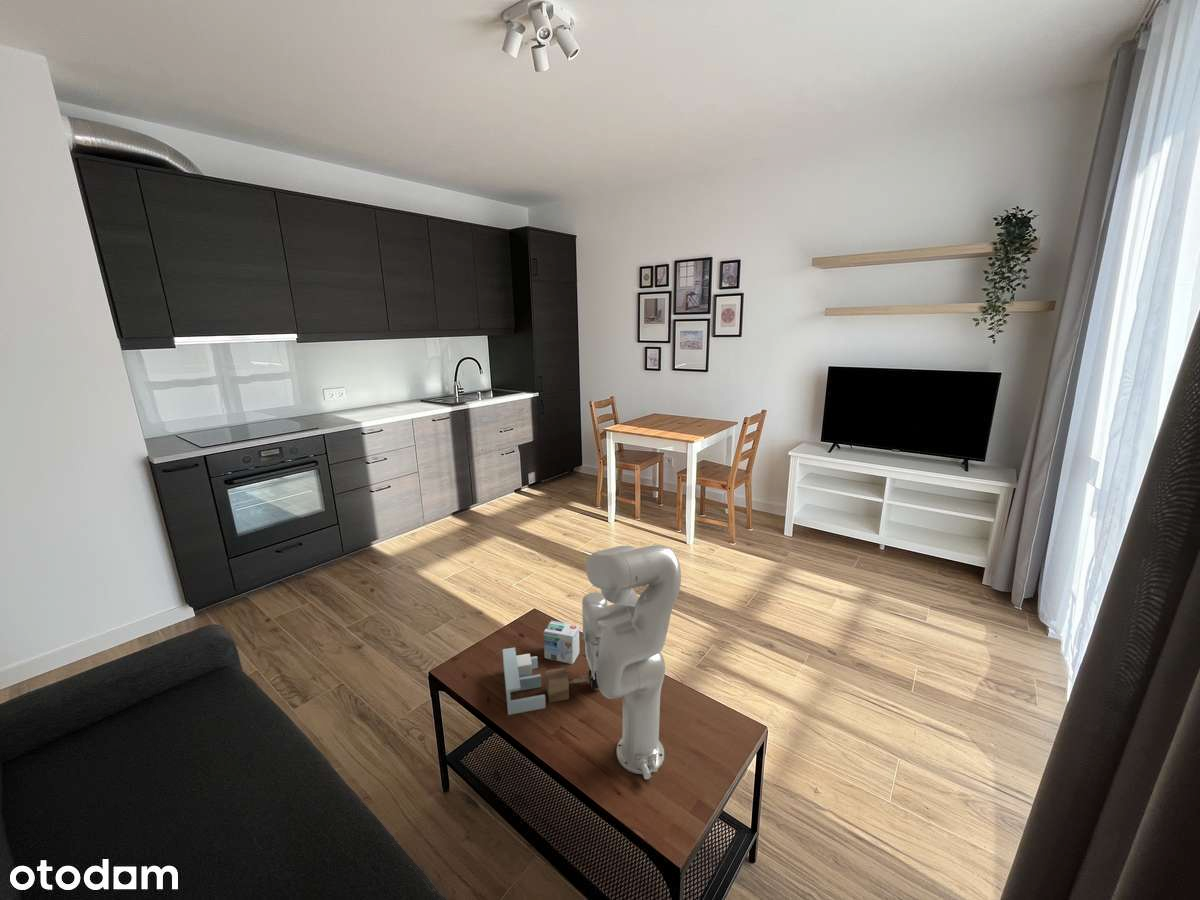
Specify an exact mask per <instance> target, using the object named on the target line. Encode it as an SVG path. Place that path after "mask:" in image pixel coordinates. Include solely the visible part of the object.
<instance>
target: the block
mask: <svg viewBox="0 0 1200 900" xmlns="http://www.w3.org/2000/svg"><path fill="white" fill-rule="evenodd" d="M531 657H532V656H531V653H525V654H524V653H523V654H519V655H517V654H516V658H517V665H518V672H519V678H521V677H527V676H532V675H533V669H532V663H531Z"/></svg>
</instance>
